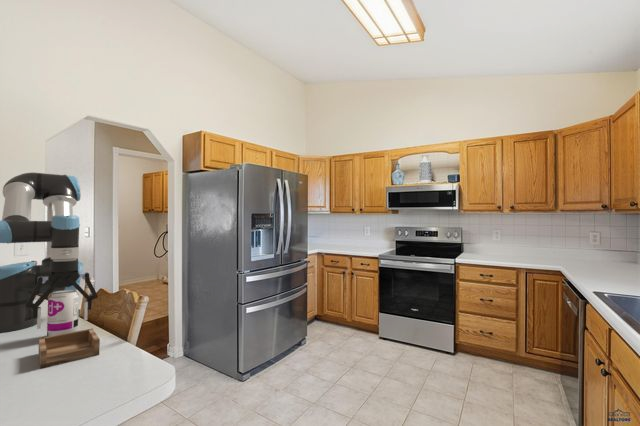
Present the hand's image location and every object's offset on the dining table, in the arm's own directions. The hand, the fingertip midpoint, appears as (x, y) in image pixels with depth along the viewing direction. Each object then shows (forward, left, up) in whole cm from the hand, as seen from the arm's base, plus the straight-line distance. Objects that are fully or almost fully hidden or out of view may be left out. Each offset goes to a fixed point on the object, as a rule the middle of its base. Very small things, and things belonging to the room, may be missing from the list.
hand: (63, 323), depth 107 cm
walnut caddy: (+20, 0, -4) cm, 20 cm away
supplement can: (0, 0, -5) cm, 5 cm away
